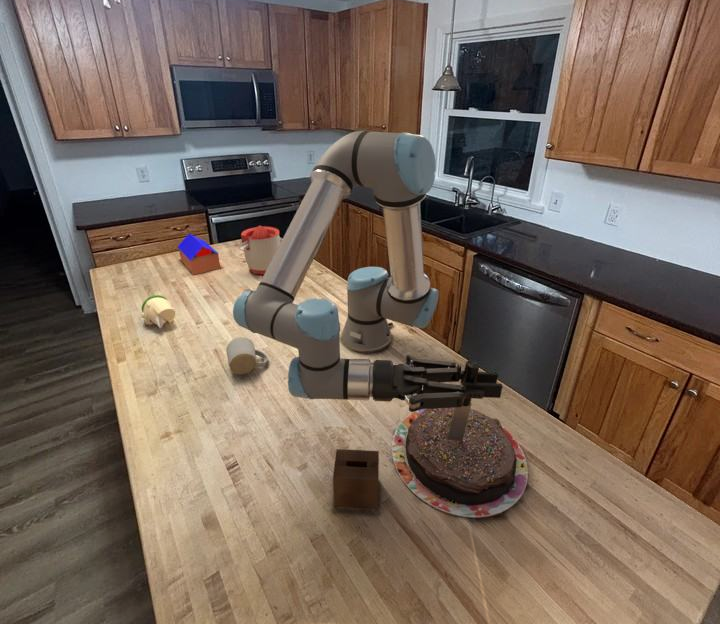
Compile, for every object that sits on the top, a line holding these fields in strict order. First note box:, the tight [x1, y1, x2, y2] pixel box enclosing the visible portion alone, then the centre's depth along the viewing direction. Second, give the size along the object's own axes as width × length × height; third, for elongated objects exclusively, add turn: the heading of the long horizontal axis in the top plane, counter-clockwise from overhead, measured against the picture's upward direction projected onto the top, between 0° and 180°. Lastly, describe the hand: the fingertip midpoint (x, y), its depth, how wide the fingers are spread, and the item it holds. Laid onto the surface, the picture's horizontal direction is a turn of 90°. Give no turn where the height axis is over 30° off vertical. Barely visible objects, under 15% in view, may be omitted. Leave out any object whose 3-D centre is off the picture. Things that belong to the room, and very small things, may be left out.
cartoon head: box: [140, 294, 176, 330], centre depth 129 cm, size 9×10×20 cm
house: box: [177, 233, 221, 276], centre depth 171 cm, size 12×20×12 cm, turn 37°
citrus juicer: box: [238, 225, 281, 276], centre depth 164 cm, size 16×17×20 cm
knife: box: [447, 359, 480, 441], centre depth 74 cm, size 3×2×19 cm
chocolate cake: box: [391, 407, 530, 519], centre depth 81 cm, size 28×28×7 cm
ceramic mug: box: [225, 336, 269, 376], centre depth 108 cm, size 11×8×8 cm
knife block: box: [332, 448, 380, 511], centre depth 72 cm, size 8×6×9 cm
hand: (498, 384), depth 72 cm, fingers closed on knife, 2 cm apart
